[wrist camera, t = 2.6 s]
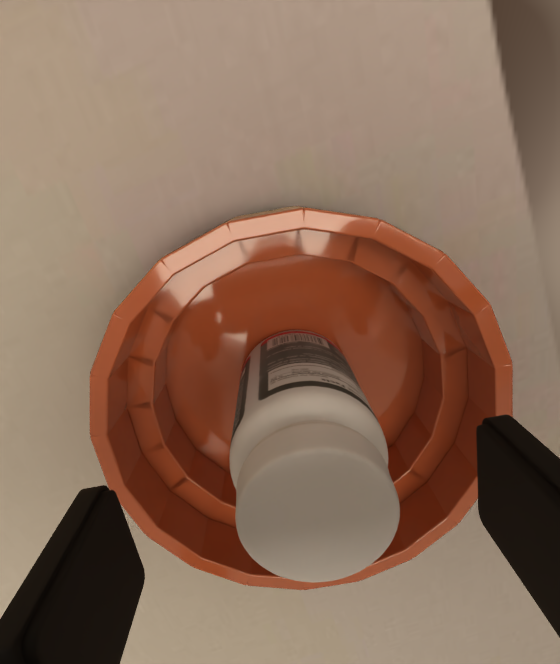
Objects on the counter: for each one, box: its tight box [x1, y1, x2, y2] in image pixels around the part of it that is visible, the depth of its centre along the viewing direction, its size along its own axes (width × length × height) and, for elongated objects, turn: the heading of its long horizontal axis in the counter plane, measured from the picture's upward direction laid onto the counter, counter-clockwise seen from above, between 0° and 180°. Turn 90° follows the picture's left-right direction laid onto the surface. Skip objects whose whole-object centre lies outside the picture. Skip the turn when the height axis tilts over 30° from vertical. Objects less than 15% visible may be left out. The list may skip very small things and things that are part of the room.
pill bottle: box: [229, 330, 400, 582], centre depth 14 cm, size 5×5×8 cm
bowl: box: [90, 206, 512, 590], centre depth 16 cm, size 14×14×4 cm
